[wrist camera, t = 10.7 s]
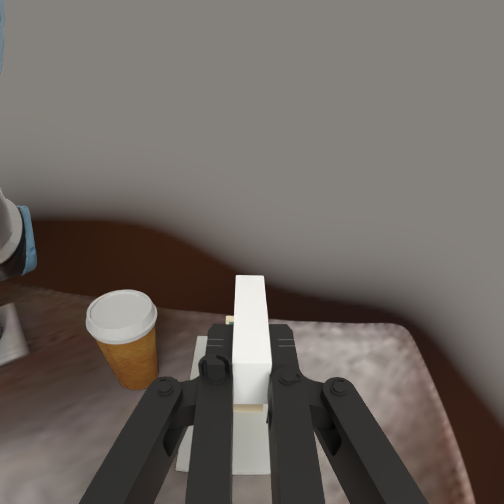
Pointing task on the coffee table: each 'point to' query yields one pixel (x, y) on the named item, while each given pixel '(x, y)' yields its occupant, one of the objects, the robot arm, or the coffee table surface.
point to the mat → (234, 434)
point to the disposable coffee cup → (126, 335)
